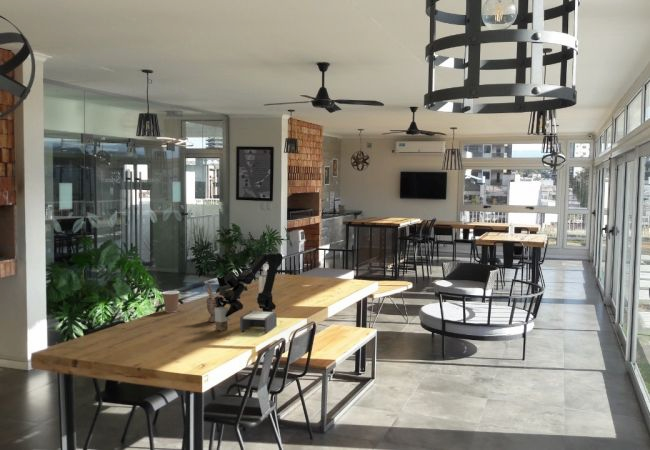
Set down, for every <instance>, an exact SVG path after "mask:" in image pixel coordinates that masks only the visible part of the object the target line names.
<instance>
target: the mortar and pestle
mask: <svg viewBox="0 0 650 450" xmlns="http://www.w3.org/2000/svg"><path fill="white" fill-rule="evenodd" d="M205 290H206V291H207V294H208V296H209V298H206V308H207V312H208V314H210V317H208V320H207V321H208V322H210V323H216V321H215V314H214V313H215V308H216V306H217V303H216V302H215V298H216V297H214V294H213V290H212V287H211V286H210V285H207V286H205Z"/></svg>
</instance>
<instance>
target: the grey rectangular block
mask: <svg viewBox="0 0 650 450" xmlns="http://www.w3.org/2000/svg"><path fill="white" fill-rule="evenodd" d="M228 310H229V307H226V306H224V307H218V308H215V321H217V322H225V321H227V322H228V321H229V316H228V317H225V315H226V313H227V312H228Z"/></svg>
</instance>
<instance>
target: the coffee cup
mask: <svg viewBox="0 0 650 450" xmlns="http://www.w3.org/2000/svg"><path fill="white" fill-rule="evenodd" d="M162 296H163V303H164V304H163V305H164V310H165V312H166V313H176V312H178V309H179V307H178V306H179V298H180V297H179V296H180V291H178V290H166V291H162Z"/></svg>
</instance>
